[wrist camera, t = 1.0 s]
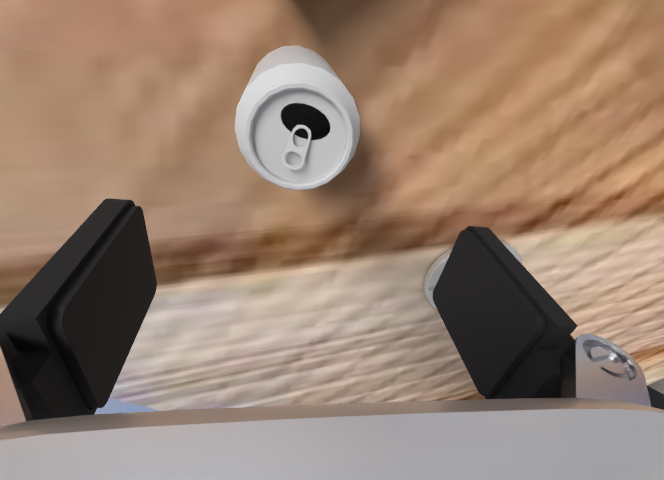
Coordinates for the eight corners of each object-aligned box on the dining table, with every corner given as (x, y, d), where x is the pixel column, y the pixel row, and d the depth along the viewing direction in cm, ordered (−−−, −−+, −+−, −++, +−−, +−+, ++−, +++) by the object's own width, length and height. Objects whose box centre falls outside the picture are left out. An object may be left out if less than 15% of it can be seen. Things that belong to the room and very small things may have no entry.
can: (353, 69, 27) (390, 104, 18) (318, 150, 31) (333, 216, 21) (266, 25, 25) (253, 39, 15) (239, 119, 29) (215, 177, 19)
